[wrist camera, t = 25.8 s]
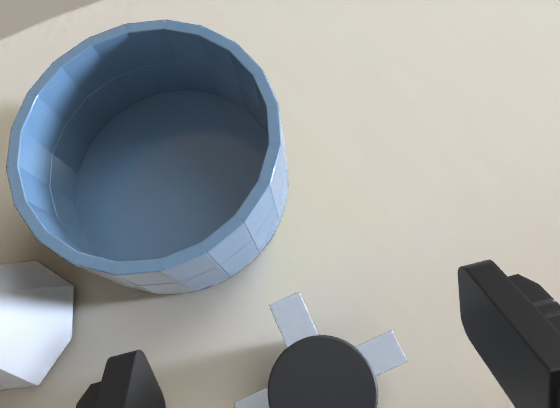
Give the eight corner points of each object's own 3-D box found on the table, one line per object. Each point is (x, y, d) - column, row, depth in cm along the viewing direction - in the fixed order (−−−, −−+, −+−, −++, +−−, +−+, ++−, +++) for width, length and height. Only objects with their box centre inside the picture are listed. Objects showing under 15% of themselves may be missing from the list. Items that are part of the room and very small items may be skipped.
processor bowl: (63, 302, 28) (-9, 284, 22) (78, 97, 32) (21, 33, 26) (296, 285, 27) (289, 261, 21) (281, 78, 31) (271, 8, 25)
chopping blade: (243, 476, 25) (178, 570, 13) (237, 304, 27) (179, 260, 16) (414, 466, 24) (499, 555, 13) (391, 293, 27) (445, 239, 15)
